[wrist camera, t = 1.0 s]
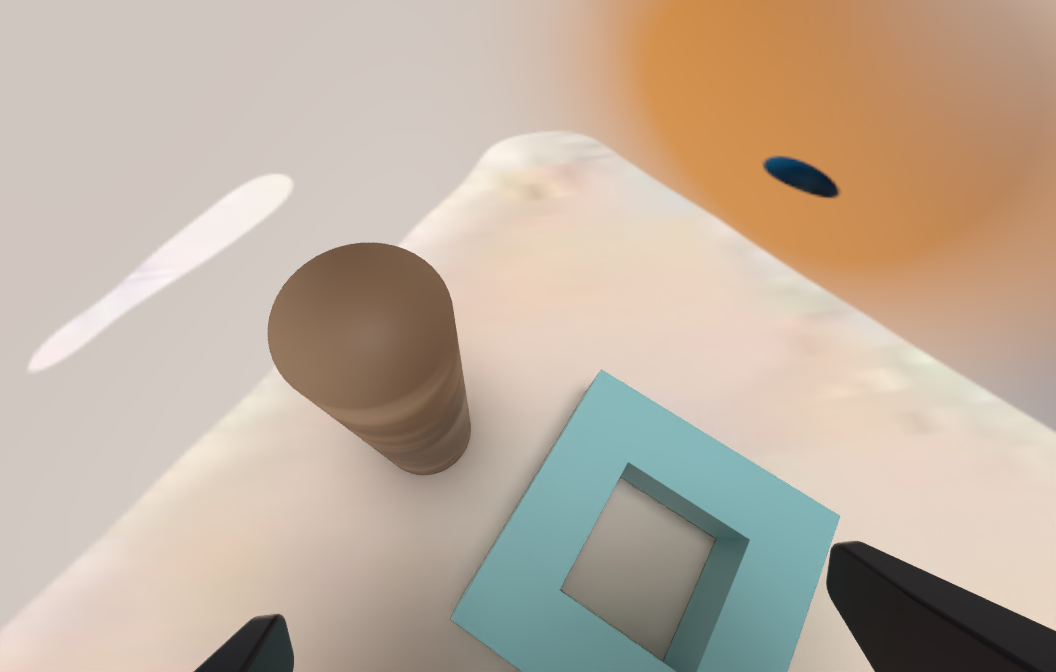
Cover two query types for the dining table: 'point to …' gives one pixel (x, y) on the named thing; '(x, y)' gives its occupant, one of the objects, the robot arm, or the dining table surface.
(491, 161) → the dining table surface
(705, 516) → the socket block
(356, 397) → the walnut pin
